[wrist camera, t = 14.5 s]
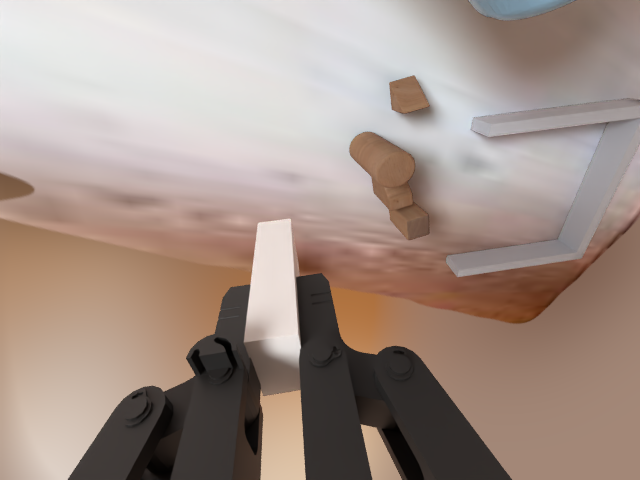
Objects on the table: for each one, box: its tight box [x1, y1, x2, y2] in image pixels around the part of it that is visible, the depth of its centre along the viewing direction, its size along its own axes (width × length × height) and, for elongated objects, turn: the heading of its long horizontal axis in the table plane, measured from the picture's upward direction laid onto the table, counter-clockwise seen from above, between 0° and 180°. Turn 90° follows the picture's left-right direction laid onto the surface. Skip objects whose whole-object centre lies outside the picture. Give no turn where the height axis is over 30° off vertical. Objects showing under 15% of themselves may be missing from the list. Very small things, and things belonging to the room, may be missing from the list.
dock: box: [446, 98, 640, 277], centre depth 44 cm, size 24×22×4 cm
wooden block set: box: [350, 76, 430, 240], centre depth 35 cm, size 18×9×10 cm, turn 13°
